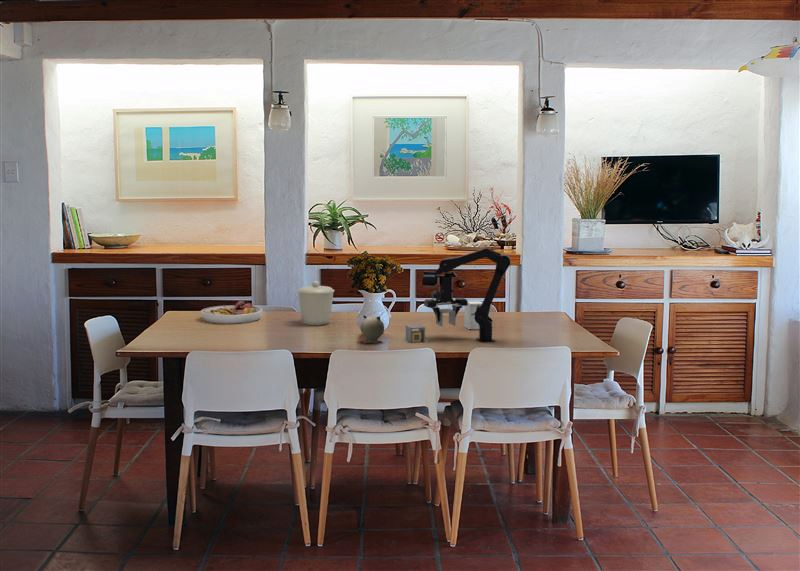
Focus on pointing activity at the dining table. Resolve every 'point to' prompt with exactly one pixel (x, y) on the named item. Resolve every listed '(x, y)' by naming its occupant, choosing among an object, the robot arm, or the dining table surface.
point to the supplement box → (471, 315)
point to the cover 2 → (451, 316)
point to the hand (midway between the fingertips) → (445, 321)
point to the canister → (315, 304)
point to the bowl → (232, 313)
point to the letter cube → (416, 336)
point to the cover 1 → (409, 332)
